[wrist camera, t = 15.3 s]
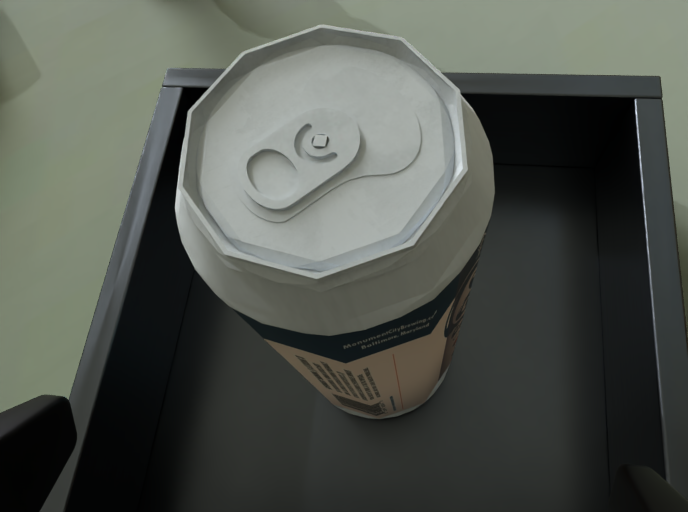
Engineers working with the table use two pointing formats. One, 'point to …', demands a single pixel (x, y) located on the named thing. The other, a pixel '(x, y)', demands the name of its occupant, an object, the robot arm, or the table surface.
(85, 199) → the table surface
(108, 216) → the table surface
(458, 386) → the tray
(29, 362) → the table surface
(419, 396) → the beer can
